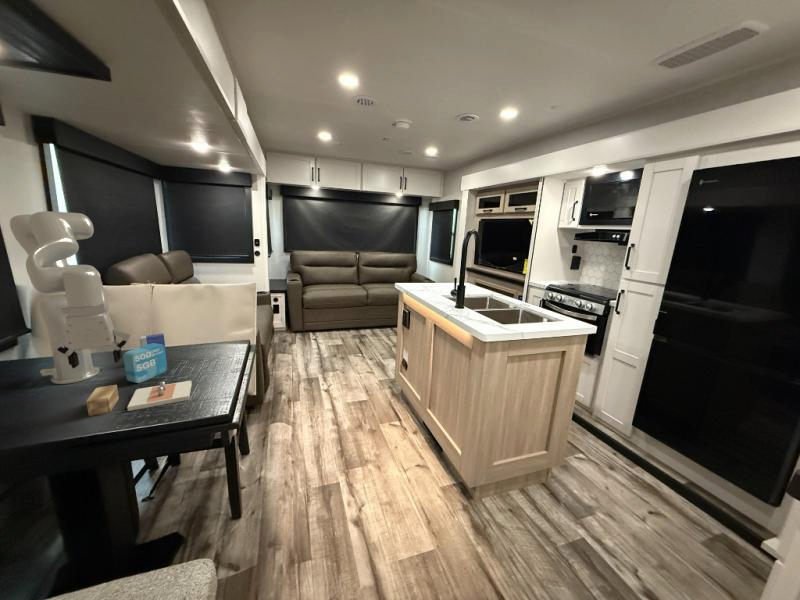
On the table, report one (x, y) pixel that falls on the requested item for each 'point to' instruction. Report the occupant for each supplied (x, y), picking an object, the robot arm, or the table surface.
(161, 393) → the pins
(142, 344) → the walkman
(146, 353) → the data package
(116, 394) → the tan cardboard box
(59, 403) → the table surface
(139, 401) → the plate
